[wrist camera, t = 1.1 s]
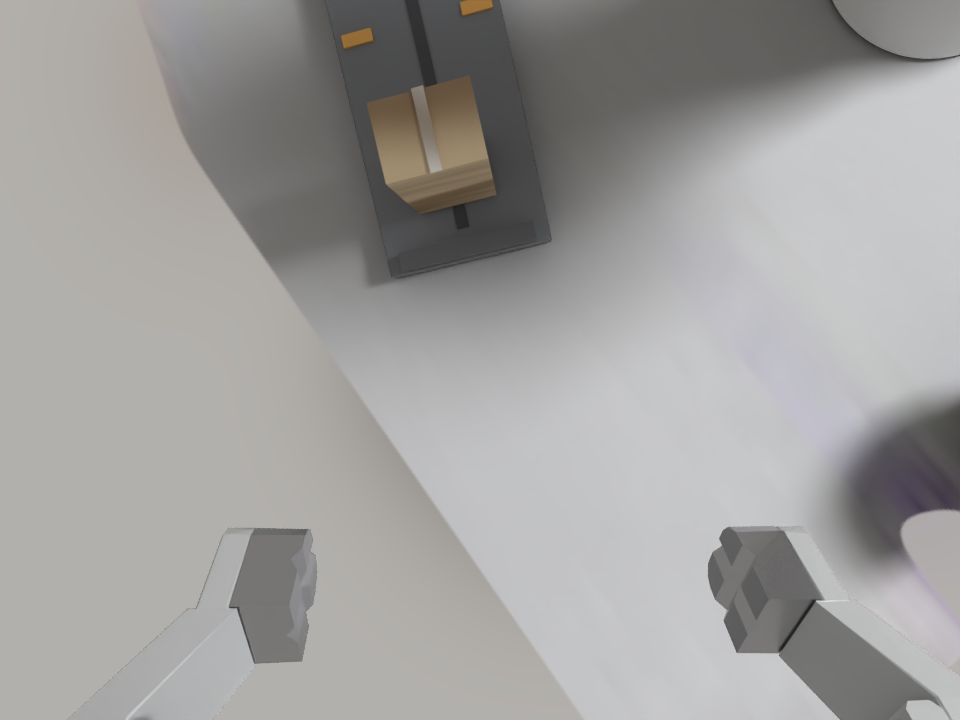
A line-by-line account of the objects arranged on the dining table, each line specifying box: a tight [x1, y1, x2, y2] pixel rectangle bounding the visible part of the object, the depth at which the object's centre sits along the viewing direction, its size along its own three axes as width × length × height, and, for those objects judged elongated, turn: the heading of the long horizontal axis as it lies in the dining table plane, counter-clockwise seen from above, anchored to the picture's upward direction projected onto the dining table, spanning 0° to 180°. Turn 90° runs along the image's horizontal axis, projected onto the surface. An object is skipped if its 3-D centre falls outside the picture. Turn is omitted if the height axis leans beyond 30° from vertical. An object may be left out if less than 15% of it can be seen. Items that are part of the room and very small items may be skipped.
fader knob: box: [367, 76, 497, 214], centre depth 34 cm, size 4×5×10 cm
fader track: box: [325, 0, 552, 278], centre depth 39 cm, size 25×11×3 cm, turn 13°
